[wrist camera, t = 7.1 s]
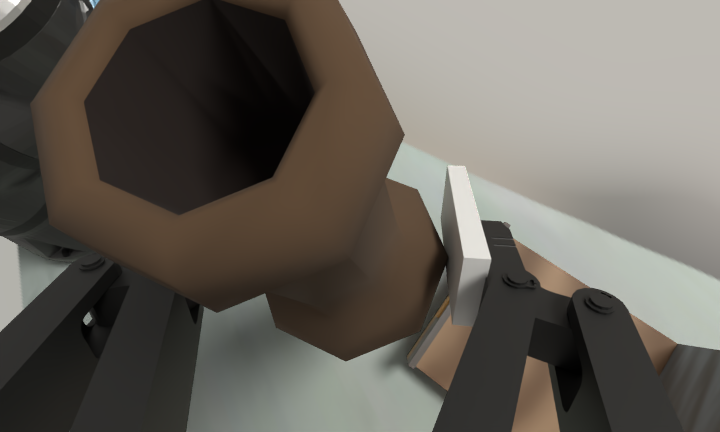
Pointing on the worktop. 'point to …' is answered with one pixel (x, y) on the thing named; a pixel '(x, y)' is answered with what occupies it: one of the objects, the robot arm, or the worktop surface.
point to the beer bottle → (240, 165)
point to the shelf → (536, 401)
